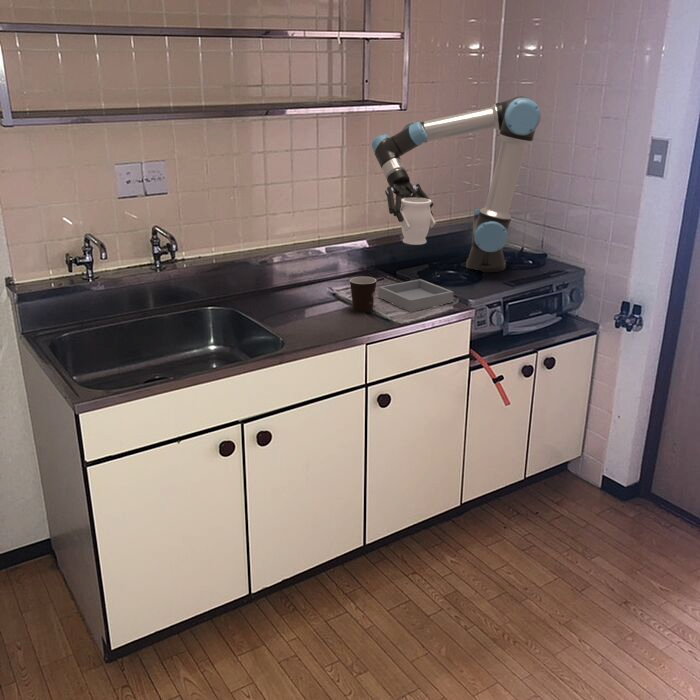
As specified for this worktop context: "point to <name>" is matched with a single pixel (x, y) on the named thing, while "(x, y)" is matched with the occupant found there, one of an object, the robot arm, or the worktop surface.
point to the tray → (415, 295)
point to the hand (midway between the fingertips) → (420, 227)
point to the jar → (416, 220)
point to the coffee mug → (363, 293)
